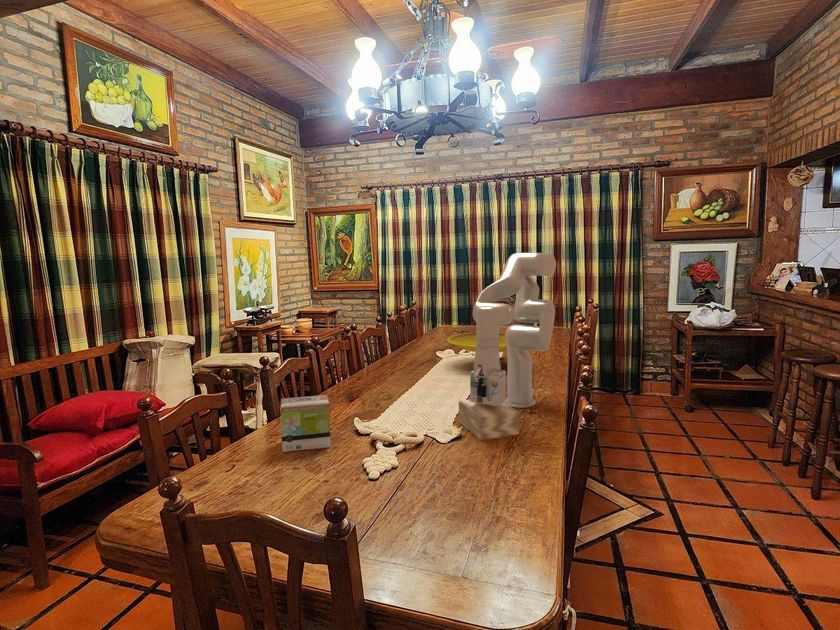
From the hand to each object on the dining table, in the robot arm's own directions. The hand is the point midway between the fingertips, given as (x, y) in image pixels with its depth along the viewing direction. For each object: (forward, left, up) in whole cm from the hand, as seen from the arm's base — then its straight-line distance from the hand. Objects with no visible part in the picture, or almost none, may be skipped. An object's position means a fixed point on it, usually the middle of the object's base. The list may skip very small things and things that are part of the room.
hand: (487, 393), depth 162 cm
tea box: (+46, -40, -12) cm, 62 cm away
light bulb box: (0, 0, -3) cm, 3 cm away
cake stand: (-73, -44, -12) cm, 86 cm away
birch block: (0, 0, -13) cm, 13 cm away
